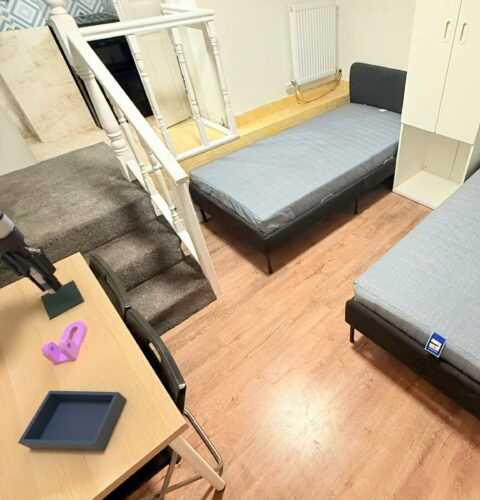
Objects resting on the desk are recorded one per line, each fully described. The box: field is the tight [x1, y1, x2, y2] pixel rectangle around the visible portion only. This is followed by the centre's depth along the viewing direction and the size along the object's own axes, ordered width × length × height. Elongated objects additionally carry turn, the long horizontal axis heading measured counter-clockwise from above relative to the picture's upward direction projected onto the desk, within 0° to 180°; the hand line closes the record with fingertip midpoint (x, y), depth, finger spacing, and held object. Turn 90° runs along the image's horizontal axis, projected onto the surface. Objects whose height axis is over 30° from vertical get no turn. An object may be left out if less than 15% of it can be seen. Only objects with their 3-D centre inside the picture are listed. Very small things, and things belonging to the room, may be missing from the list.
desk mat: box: [40, 279, 85, 321], centre depth 108 cm, size 12×10×1 cm
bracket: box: [41, 320, 88, 365], centre depth 95 cm, size 13×6×7 cm, turn 13°
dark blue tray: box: [17, 390, 127, 452], centre depth 79 cm, size 18×12×5 cm, turn 88°
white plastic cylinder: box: [30, 266, 56, 294], centre depth 102 cm, size 3×3×10 cm
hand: (52, 288), depth 105 cm, fingers closed on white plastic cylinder, 3 cm apart
